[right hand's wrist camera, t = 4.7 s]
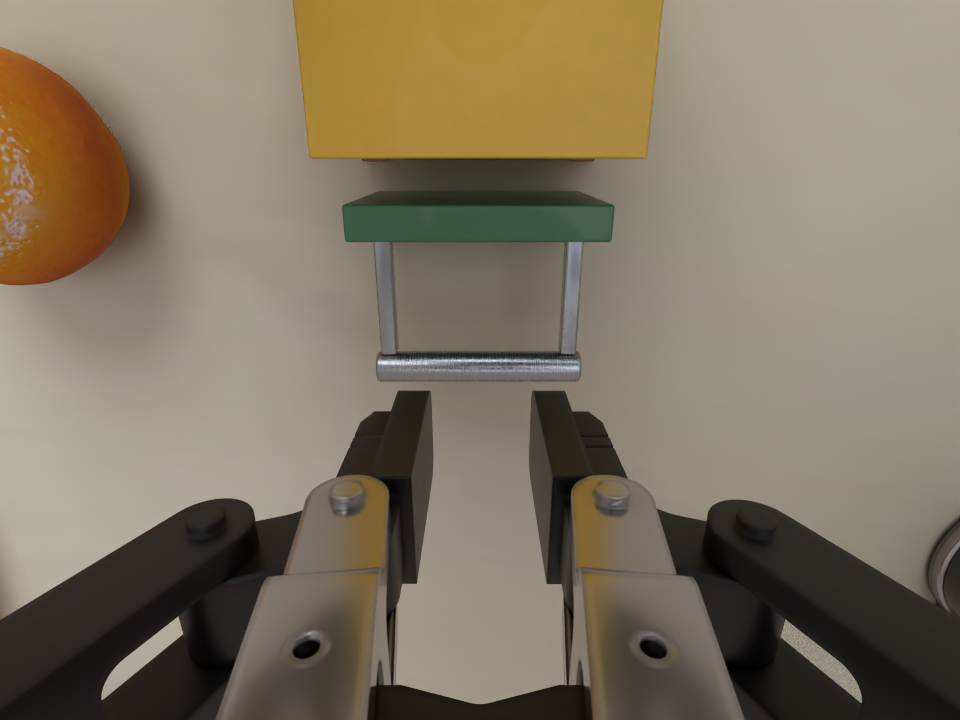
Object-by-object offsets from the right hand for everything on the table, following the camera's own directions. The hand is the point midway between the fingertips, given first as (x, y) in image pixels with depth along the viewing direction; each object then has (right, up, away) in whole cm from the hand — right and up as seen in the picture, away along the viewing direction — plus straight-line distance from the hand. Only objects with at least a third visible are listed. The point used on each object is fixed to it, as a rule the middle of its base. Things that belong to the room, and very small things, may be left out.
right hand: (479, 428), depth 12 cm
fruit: (-18, +10, +11) cm, 24 cm away
